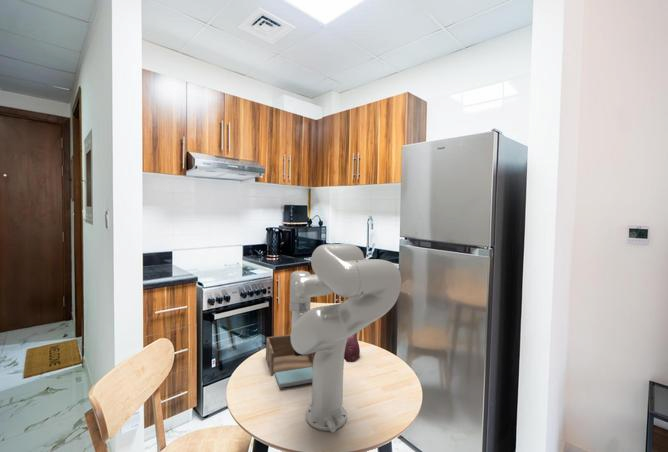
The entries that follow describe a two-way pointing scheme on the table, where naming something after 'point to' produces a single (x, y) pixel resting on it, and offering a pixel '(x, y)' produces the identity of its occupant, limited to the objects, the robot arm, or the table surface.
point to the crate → (285, 355)
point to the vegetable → (352, 349)
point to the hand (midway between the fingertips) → (298, 354)
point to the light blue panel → (294, 377)
